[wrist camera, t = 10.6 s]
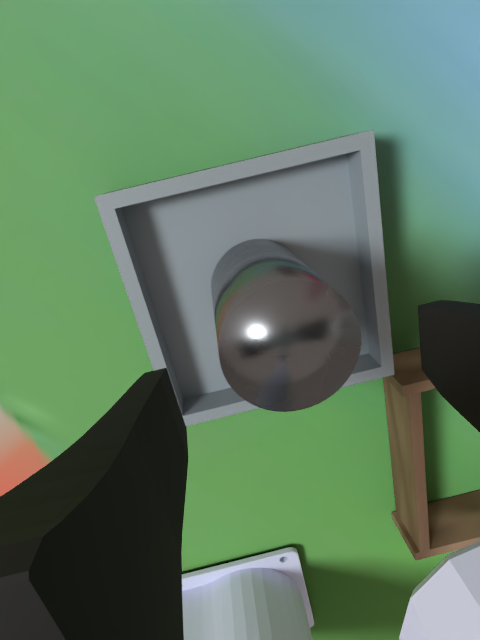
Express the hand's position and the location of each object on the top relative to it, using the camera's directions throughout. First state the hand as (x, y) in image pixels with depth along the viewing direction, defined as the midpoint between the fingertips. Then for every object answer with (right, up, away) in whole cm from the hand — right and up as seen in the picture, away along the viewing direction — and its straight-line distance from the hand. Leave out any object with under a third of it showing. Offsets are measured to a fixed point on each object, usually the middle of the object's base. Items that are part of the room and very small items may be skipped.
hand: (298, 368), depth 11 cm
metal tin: (-1, +3, +8) cm, 8 cm away
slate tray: (-1, +3, +8) cm, 9 cm away
